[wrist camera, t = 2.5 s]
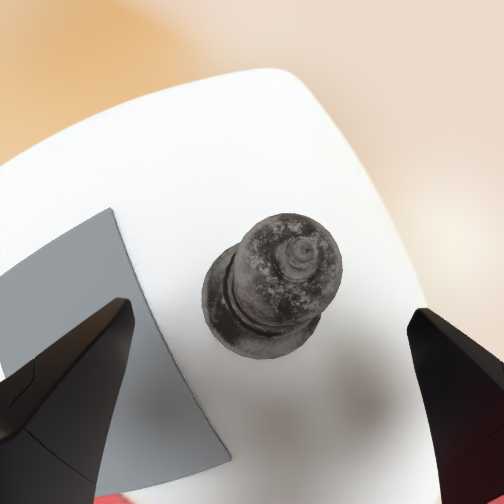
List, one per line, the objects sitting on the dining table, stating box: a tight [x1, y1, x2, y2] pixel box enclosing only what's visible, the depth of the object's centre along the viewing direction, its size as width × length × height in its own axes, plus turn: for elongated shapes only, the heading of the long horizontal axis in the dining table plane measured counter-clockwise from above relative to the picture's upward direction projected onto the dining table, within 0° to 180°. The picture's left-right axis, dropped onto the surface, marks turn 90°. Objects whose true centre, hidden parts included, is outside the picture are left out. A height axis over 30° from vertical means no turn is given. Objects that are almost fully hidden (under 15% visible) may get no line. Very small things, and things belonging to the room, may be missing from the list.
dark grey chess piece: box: [202, 213, 343, 359], centre depth 11 cm, size 6×6×12 cm
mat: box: [0, 208, 232, 497], centre depth 15 cm, size 18×14×1 cm
